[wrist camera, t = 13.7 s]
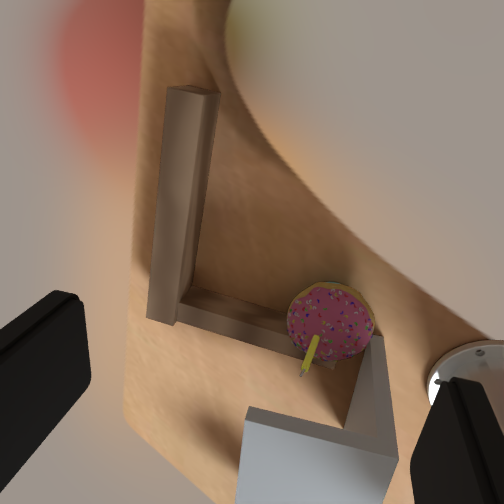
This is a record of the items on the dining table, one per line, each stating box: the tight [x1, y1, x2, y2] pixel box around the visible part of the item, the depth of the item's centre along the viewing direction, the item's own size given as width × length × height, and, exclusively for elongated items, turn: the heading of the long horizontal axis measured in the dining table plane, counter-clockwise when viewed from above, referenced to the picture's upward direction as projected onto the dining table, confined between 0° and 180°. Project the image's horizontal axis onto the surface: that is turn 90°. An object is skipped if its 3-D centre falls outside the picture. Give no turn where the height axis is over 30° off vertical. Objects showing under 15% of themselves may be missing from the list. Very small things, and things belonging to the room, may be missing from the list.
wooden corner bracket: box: [146, 85, 336, 370], centre depth 39 cm, size 21×24×5 cm
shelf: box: [235, 335, 399, 504], centre depth 41 cm, size 12×15×16 cm
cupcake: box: [287, 282, 375, 377], centre depth 38 cm, size 9×8×12 cm
